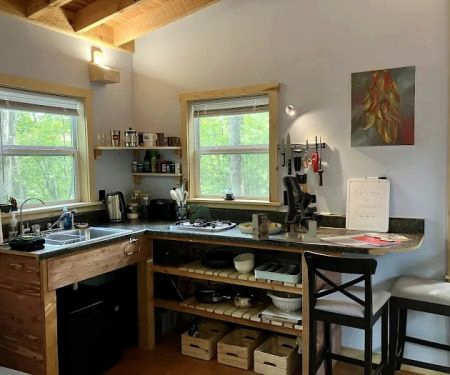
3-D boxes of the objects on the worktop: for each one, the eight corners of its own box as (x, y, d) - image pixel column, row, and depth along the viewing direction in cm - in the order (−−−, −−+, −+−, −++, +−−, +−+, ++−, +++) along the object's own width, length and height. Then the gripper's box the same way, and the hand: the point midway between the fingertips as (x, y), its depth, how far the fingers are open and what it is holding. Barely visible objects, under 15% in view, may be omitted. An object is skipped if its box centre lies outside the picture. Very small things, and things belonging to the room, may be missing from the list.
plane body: (285, 236, 276) (285, 224, 276) (298, 236, 275) (298, 224, 275) (286, 241, 258) (286, 228, 257) (299, 241, 257) (299, 228, 256)
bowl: (279, 236, 278) (279, 224, 278) (235, 235, 284) (235, 223, 284) (282, 229, 308) (282, 218, 307) (242, 228, 314) (242, 217, 313)
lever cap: (306, 236, 263) (306, 220, 262) (313, 236, 264) (313, 220, 263) (308, 237, 259) (308, 221, 258) (316, 237, 260) (316, 221, 259)
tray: (302, 238, 267) (302, 235, 267) (319, 238, 266) (319, 235, 266) (303, 241, 257) (303, 238, 257) (320, 241, 256) (320, 238, 255)
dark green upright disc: (189, 227, 320) (189, 201, 319) (186, 225, 326) (185, 200, 325) (212, 224, 330) (212, 199, 329) (208, 223, 336) (208, 199, 334)
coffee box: (258, 240, 263) (258, 215, 262) (252, 239, 268) (252, 214, 267) (269, 238, 268) (269, 213, 267) (262, 237, 273) (262, 212, 272)
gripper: (294, 202, 262) (301, 222, 252) (322, 201, 266) (330, 221, 256) (290, 213, 270) (296, 233, 260) (317, 212, 274) (324, 232, 264)
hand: (312, 229), depth 260 cm, fingers closed on lever cap, 5 cm apart
